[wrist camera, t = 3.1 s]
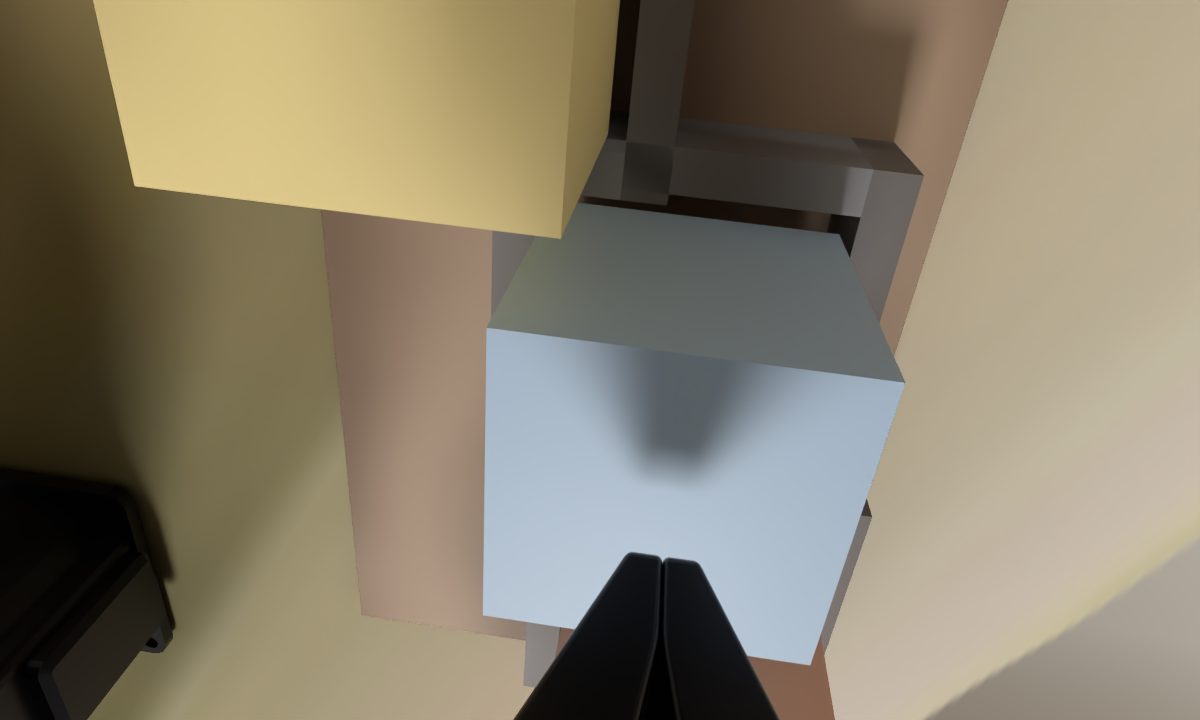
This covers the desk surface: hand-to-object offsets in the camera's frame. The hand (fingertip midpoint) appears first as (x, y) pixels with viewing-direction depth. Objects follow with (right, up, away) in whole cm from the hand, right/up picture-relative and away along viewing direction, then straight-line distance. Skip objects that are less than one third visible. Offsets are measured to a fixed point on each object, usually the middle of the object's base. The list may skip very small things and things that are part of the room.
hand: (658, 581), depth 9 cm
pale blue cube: (+1, +3, +5) cm, 6 cm away
